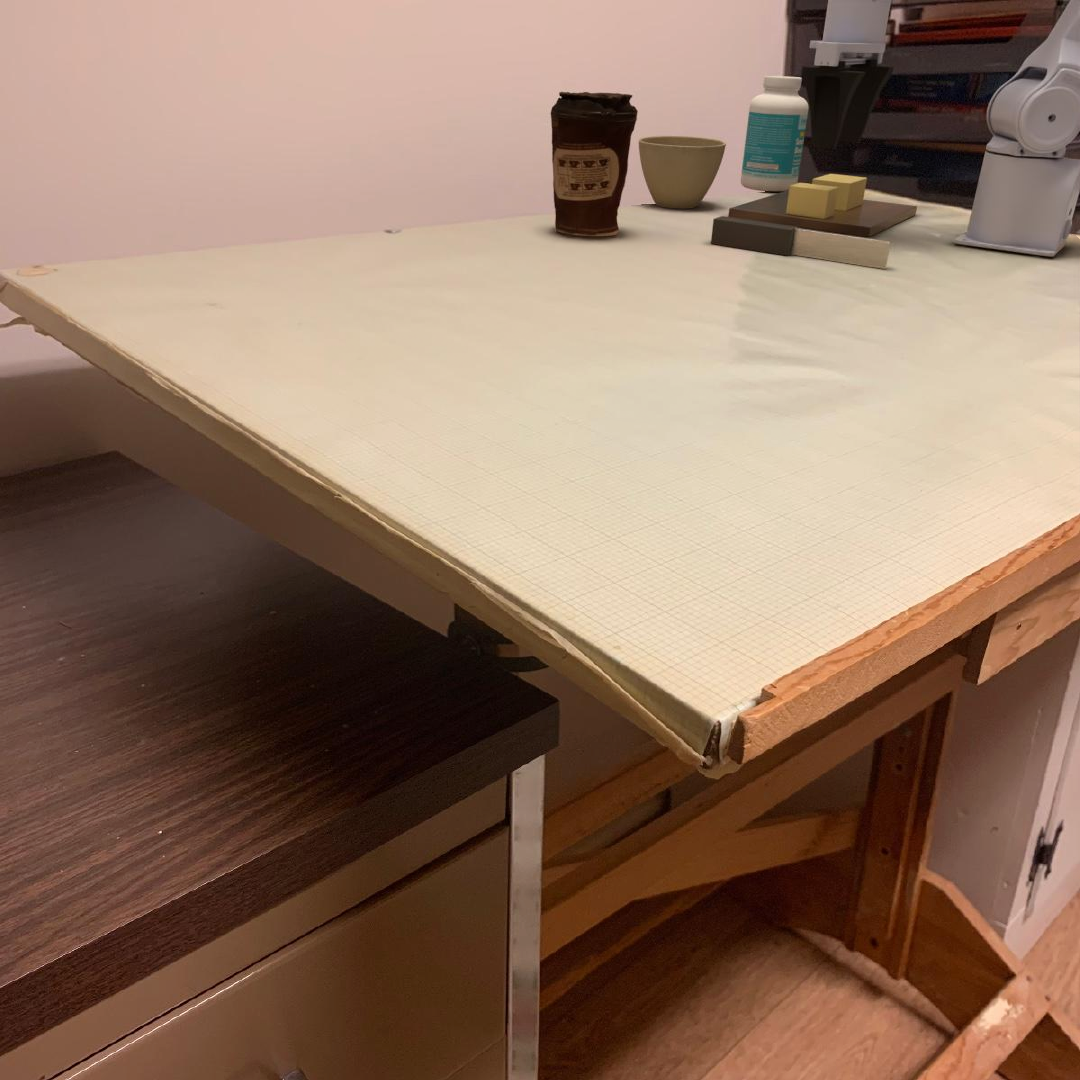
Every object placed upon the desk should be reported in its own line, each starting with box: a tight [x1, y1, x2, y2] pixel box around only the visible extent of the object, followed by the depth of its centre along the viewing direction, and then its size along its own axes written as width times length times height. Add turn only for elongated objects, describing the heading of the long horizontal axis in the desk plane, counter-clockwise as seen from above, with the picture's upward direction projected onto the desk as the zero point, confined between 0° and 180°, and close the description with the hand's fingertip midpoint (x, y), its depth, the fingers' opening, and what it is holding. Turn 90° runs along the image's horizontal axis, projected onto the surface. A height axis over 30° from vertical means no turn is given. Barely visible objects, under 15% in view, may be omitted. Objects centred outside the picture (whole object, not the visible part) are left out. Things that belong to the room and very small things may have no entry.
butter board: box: [727, 190, 918, 238], centre depth 114 cm, size 16×18×1 cm
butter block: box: [811, 173, 868, 211], centre depth 114 cm, size 4×6×3 cm
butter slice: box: [786, 182, 838, 219], centre depth 108 cm, size 4×3×3 cm
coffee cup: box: [550, 91, 639, 237], centre depth 97 cm, size 9×8×13 cm
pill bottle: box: [740, 75, 810, 193], centre depth 128 cm, size 8×7×14 cm
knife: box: [710, 215, 892, 270], centre depth 94 cm, size 17×2×2 cm, turn 56°
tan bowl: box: [638, 135, 727, 209], centre depth 115 cm, size 10×10×7 cm
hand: (836, 144), depth 99 cm, fingers open, 7 cm apart
